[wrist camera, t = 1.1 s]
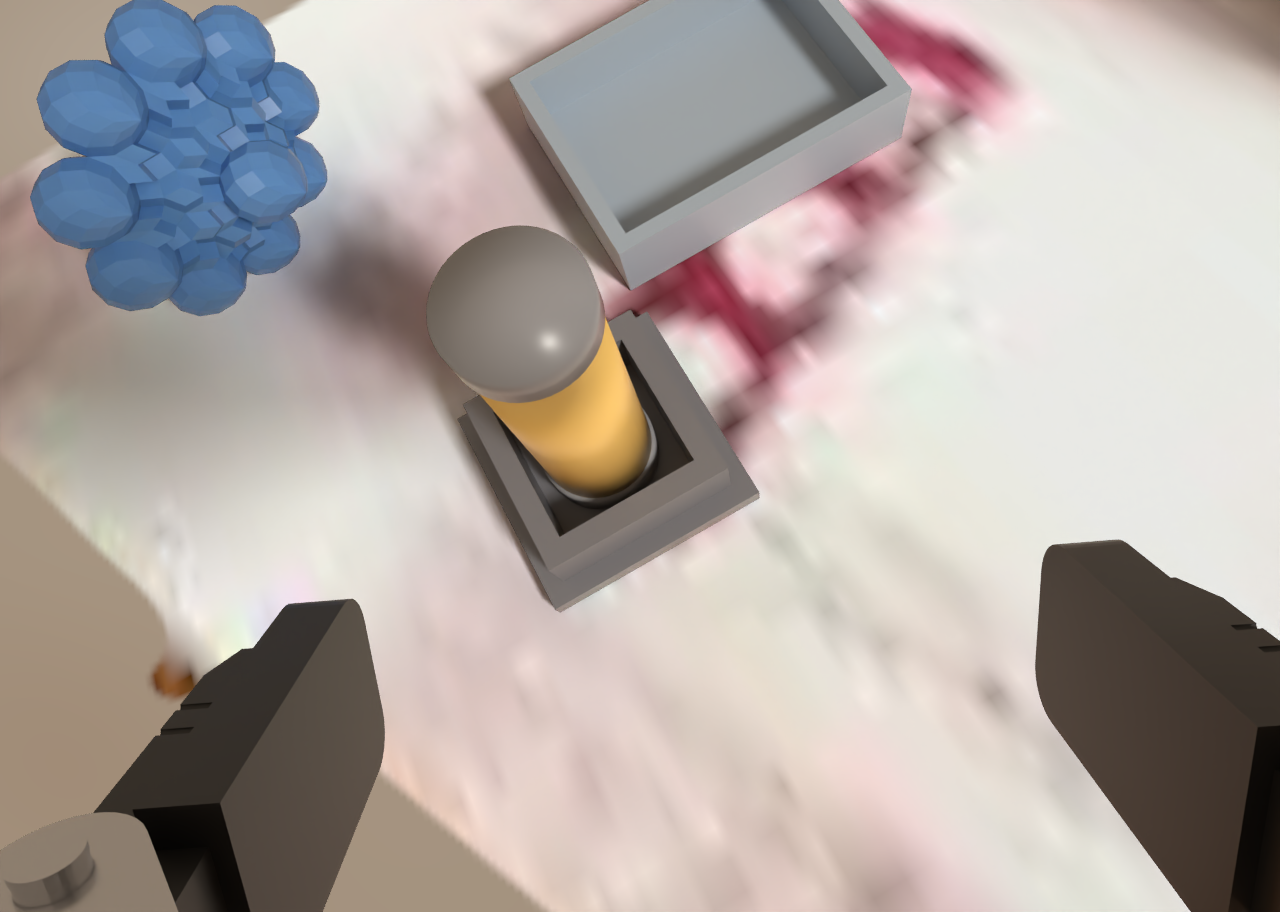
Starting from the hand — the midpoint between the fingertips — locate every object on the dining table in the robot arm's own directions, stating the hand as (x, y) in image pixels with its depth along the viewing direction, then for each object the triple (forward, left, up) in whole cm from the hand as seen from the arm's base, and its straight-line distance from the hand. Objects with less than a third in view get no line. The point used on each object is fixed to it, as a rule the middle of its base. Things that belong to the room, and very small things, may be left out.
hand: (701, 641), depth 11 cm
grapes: (+7, -24, -20) cm, 32 cm away
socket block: (0, -10, -20) cm, 22 cm away
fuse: (0, -10, -19) cm, 22 cm away
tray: (-10, -20, -20) cm, 30 cm away
